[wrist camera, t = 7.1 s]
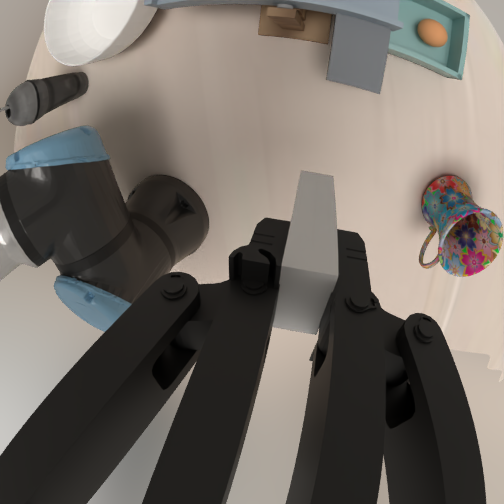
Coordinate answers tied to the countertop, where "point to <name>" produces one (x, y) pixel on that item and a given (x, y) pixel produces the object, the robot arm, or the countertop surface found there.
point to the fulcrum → (295, 23)
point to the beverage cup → (43, 96)
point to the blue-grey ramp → (339, 34)
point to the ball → (432, 32)
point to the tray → (417, 51)
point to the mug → (460, 228)
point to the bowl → (93, 28)
